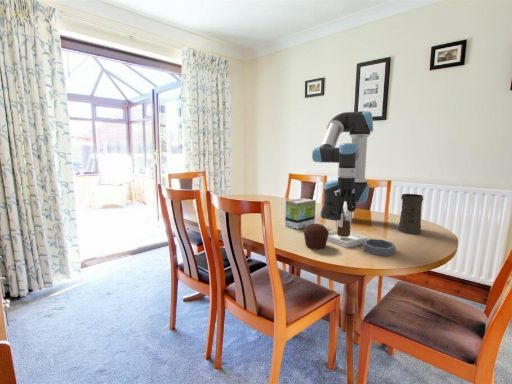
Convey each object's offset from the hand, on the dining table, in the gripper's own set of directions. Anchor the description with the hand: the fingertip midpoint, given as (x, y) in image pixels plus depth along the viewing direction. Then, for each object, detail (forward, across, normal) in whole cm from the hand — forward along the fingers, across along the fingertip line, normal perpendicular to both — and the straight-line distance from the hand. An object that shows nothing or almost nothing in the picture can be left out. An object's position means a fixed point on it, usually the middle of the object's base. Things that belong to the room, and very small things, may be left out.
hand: (344, 225), depth 132 cm
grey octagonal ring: (+7, +3, -17) cm, 19 cm away
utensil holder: (+5, 0, 0) cm, 5 cm away
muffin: (+8, -17, +1) cm, 18 cm away
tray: (+7, 0, 0) cm, 7 cm away
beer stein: (+8, +43, -6) cm, 44 cm away
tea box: (+8, -1, +31) cm, 32 cm away
